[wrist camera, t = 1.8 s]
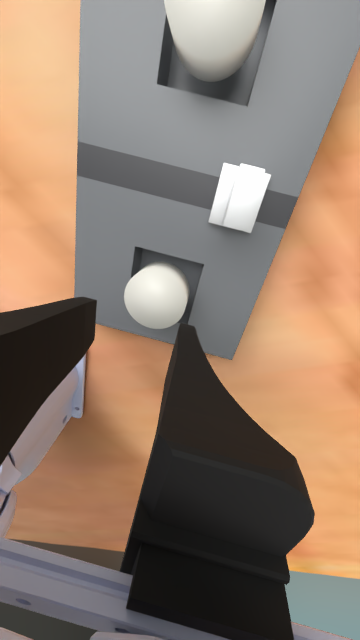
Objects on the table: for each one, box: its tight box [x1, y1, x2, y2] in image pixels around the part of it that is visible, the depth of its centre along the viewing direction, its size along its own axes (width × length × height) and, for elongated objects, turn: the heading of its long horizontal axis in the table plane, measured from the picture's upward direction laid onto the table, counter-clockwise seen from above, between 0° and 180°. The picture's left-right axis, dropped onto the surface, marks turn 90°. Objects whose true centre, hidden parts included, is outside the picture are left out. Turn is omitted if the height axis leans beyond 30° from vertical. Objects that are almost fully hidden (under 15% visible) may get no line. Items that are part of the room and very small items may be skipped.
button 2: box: [164, 0, 266, 82], centre depth 9 cm, size 4×4×2 cm
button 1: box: [124, 262, 190, 329], centre depth 15 cm, size 4×4×2 cm
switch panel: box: [74, 0, 360, 360], centre depth 14 cm, size 20×12×2 cm, turn 167°
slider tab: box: [208, 163, 271, 233], centre depth 11 cm, size 3×2×3 cm
